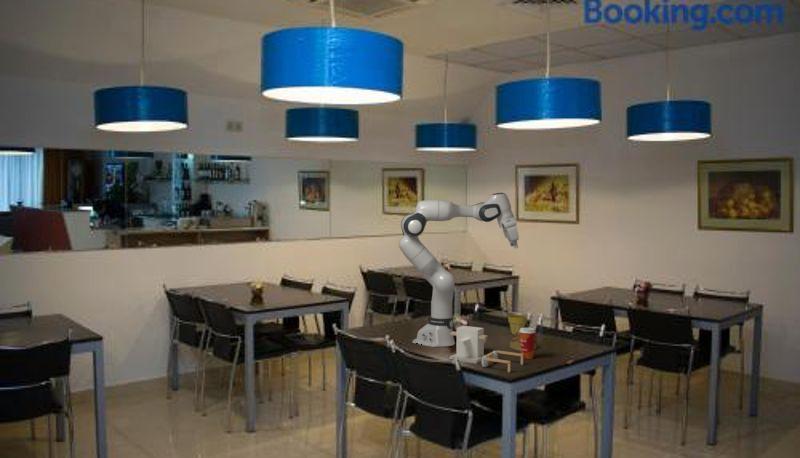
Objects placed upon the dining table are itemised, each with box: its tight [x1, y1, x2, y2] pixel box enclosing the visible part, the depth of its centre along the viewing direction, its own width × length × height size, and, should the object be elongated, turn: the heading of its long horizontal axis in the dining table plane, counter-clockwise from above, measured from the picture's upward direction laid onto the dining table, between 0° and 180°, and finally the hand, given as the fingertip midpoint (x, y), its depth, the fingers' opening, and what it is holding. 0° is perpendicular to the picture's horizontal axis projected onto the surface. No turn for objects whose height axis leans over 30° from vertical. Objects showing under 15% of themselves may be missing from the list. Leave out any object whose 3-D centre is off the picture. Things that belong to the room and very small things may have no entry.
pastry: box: [509, 332, 537, 352], centre depth 340 cm, size 13×15×8 cm
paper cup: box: [519, 327, 536, 360], centre depth 318 cm, size 8×8×14 cm
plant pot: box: [507, 314, 528, 335], centre depth 374 cm, size 10×10×10 cm
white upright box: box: [448, 325, 489, 364], centre depth 314 cm, size 18×14×14 cm
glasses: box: [481, 350, 524, 373], centre depth 302 cm, size 16×14×5 cm
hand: (514, 247), depth 348 cm, fingers open, 8 cm apart
